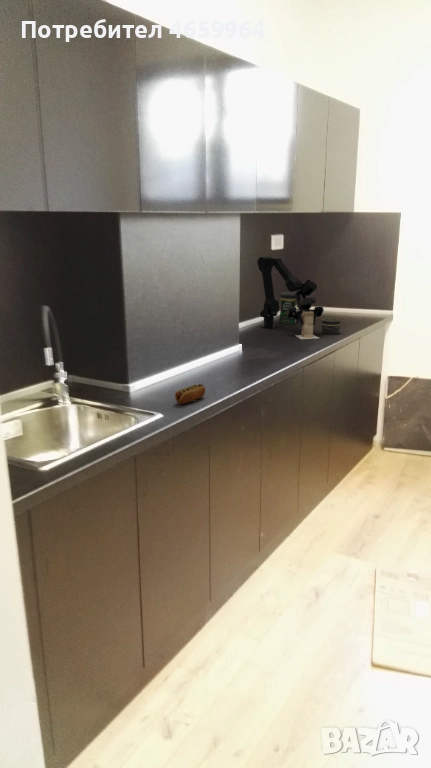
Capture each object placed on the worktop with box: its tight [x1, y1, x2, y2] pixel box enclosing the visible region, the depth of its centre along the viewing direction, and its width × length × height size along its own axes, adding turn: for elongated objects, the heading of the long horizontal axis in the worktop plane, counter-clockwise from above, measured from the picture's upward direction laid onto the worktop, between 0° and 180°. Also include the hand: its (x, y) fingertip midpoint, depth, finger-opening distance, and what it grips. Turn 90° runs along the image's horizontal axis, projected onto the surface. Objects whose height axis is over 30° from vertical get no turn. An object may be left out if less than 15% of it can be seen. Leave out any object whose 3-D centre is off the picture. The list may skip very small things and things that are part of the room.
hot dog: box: [174, 383, 206, 405], centre depth 198 cm, size 5×13×5 cm, turn 143°
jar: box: [320, 317, 342, 336], centre depth 310 cm, size 10×10×8 cm
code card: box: [295, 334, 319, 340], centre depth 302 cm, size 10×10×1 cm
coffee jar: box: [278, 291, 297, 325], centre depth 339 cm, size 10×8×19 cm
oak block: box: [301, 311, 314, 338], centre depth 300 cm, size 4×4×13 cm
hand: (308, 325), depth 299 cm, fingers open, 6 cm apart
